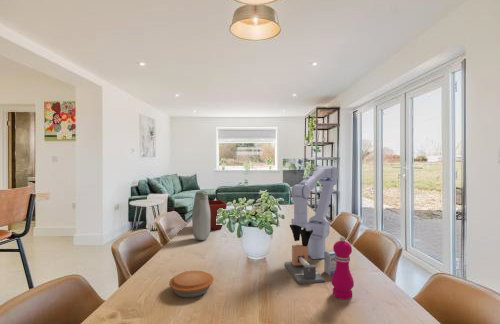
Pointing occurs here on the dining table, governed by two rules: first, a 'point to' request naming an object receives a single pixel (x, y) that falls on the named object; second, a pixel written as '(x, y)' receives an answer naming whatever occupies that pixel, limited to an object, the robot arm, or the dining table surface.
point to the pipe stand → (304, 272)
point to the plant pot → (215, 212)
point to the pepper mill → (342, 270)
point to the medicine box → (329, 262)
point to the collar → (299, 254)
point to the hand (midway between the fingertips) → (300, 243)
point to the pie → (191, 283)
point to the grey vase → (201, 216)
